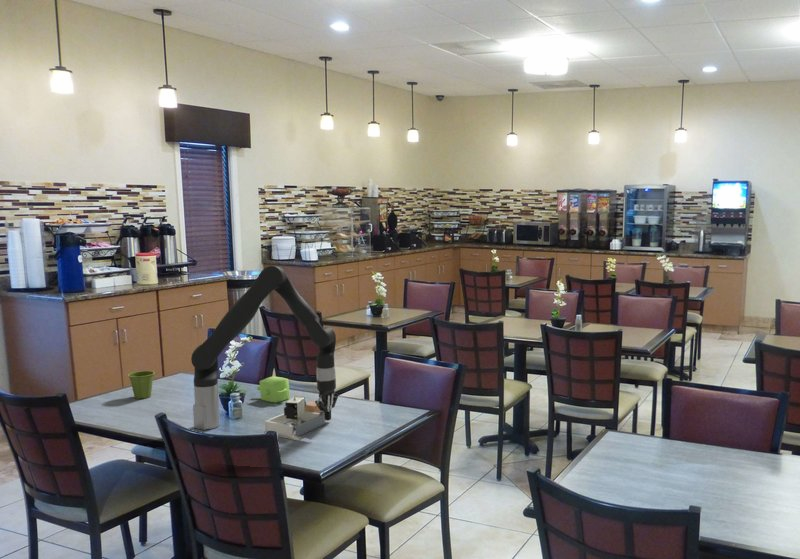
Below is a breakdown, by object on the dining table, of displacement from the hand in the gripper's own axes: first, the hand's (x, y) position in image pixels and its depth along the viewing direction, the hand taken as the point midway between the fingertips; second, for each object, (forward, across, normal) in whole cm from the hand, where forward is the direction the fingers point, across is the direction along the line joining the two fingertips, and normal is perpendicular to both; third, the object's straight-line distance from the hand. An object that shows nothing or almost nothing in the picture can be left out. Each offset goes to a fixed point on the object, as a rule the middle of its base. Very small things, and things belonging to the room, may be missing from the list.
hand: (327, 419), depth 275 cm
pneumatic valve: (+1, +11, -8) cm, 13 cm away
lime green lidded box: (+3, -18, -45) cm, 48 cm away
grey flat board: (+1, +11, 0) cm, 11 cm away
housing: (+2, +7, -7) cm, 10 cm away
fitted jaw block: (+1, -1, -8) cm, 8 cm away
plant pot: (+2, +8, -102) cm, 103 cm away
